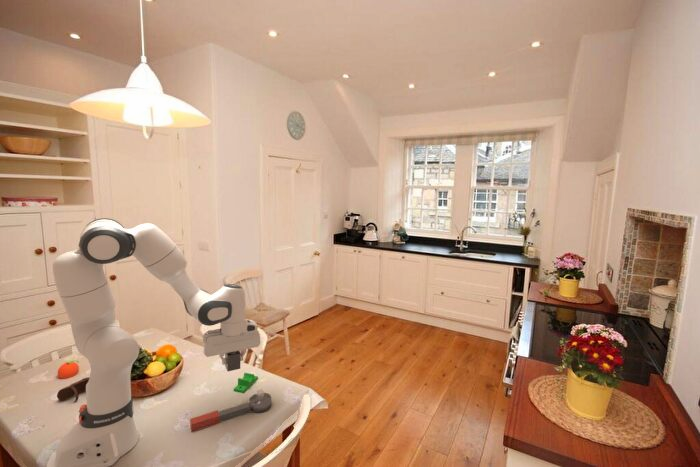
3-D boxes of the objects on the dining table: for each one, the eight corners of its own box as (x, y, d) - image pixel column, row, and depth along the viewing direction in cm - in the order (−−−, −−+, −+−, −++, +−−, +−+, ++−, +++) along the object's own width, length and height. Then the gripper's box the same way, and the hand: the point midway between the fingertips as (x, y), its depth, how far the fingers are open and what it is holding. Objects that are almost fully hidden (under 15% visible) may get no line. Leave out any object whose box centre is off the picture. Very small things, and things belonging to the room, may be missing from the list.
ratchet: (192, 436, 107) (191, 419, 107) (189, 421, 114) (188, 405, 113) (274, 408, 122) (273, 393, 121) (267, 397, 129) (267, 383, 128)
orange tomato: (73, 371, 144) (72, 356, 144) (86, 373, 143) (85, 358, 142) (53, 381, 137) (52, 365, 136) (67, 383, 135) (65, 367, 135)
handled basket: (57, 404, 122) (55, 387, 121) (91, 388, 133) (90, 372, 132) (85, 417, 115) (84, 399, 114) (119, 399, 126) (118, 382, 125)
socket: (227, 371, 120) (227, 355, 119) (225, 366, 124) (225, 350, 123) (240, 368, 122) (240, 352, 122) (237, 363, 126) (237, 347, 126)
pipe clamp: (243, 384, 131) (233, 382, 132) (243, 393, 131) (233, 391, 132) (257, 370, 141) (248, 369, 143) (257, 378, 142) (248, 377, 143)
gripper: (204, 334, 114) (204, 372, 115) (261, 325, 124) (261, 359, 126) (201, 328, 119) (201, 364, 120) (257, 319, 130) (256, 353, 131)
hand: (232, 361), depth 123 cm, fingers closed on socket, 5 cm apart
